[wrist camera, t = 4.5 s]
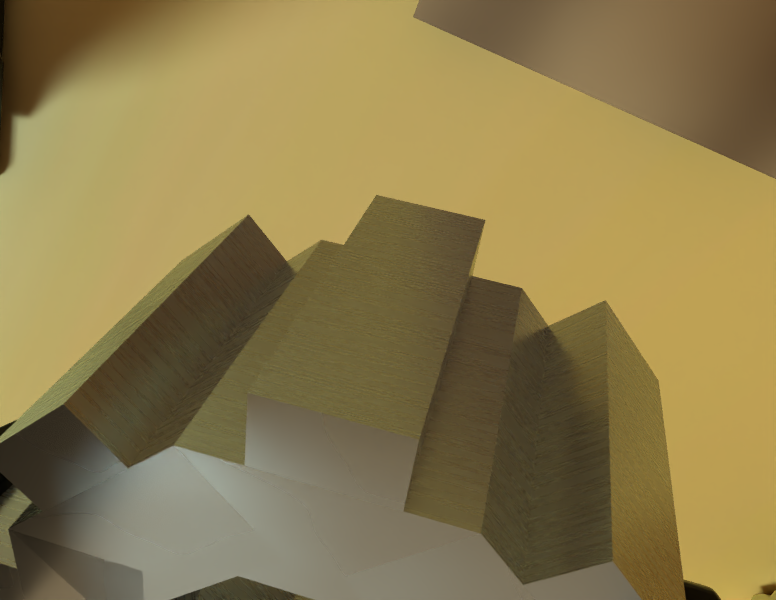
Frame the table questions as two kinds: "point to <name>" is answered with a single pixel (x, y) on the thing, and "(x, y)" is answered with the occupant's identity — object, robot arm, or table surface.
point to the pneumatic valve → (765, 596)
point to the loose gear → (344, 437)
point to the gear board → (644, 60)
